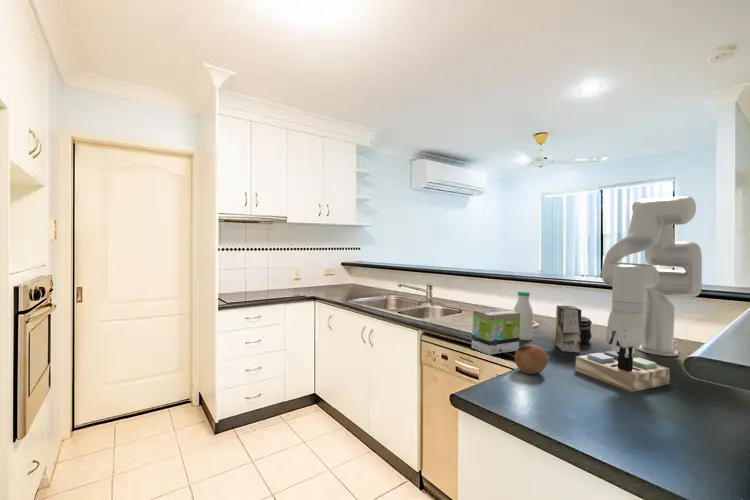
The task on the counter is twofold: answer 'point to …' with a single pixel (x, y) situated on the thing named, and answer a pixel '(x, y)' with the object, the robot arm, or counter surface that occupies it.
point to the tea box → (495, 331)
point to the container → (585, 331)
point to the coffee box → (568, 328)
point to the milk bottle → (524, 315)
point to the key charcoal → (612, 354)
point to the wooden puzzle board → (623, 374)
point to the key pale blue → (601, 358)
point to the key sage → (643, 363)
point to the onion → (531, 359)
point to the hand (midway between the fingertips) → (624, 369)
